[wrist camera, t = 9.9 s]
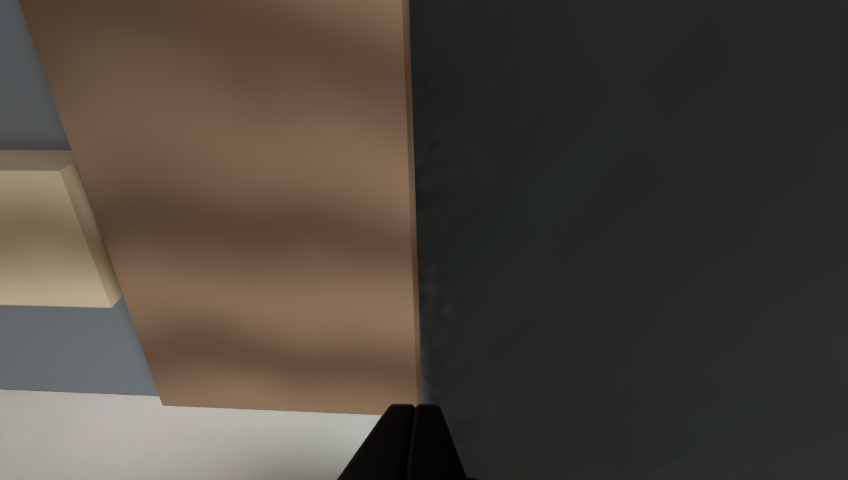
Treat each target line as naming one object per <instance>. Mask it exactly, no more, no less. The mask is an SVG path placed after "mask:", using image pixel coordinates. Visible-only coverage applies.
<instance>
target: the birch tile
mask: <svg viewBox="0 0 848 480" xmlns="http://www.w3.org/2000/svg"><path fill="white" fill-rule="evenodd" d="M122 296H123V293H122V290H121V287H120V285H119V282H118V279H117V276H116V273H115V271H114V268H113V265H112V262H111V259H110V257H109V254H108V251H107V248H106V245H105V243H104V240H103V237H102V234H101V231H100V229H99V226H98V223H97V220H96V217H95V215H94V212H93V209H92V206H91V203H90V201H89V198H88V195H87V192H86V190H85V187H84V184H83V181H82V178H81V176H80V173H79V170H78V167H77V164H76V162H75V159H74V156H73V153H72V150H0V305H27V306H63V307H99V308H112V307H113V306H114V305H115V303H116V302H117V301H118V300H119V299H120V298H121V297H122Z"/></svg>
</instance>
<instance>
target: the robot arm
mask: <svg viewBox="0 0 848 480" xmlns="http://www.w3.org/2000/svg"><path fill="white" fill-rule="evenodd" d="M337 480H467V477H466V474H465V472H464V469H463V466H462V464H461V461H460V458H459V456H458V453H457V450H456V448H455V445H454V442H453V440H452V437H451V434H450V432H449V429H448V426H447V424H446V421H445V418H444V416H443V413H442V410H441V408H440V407H439V406H438V405H432V404H418V405H417V406H416V407H414V405H412V404H391V405H390V406H389V407H388V408H387V410H386V411H385V412H384V414H383V415H382V417H381V418H380V420H379V421H378V422H377V424H376V425H375V427H374V428H373V429H372V431H371V432H370V434H369V435H368V437H367V438H366V439H365V441H364V442H363V444H362V445H361V447H360V448H359V449H358V451H357V452H356V454H355V455H354V456H353V458H352V459H351V461H350V462H349V464H348V465H347V466H346V468H345V469H344V471H343V472H342V473H341V475H340V476H339V478H338V479H337Z"/></svg>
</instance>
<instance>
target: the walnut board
mask: <svg viewBox="0 0 848 480" xmlns="http://www.w3.org/2000/svg"><path fill="white" fill-rule="evenodd" d="M18 2H19V5H20V8H21V11H22V13H23V16H24V19H25V22H26V24H27V27H28V30H29V33H30V36H31V38H32V41H33V44H34V47H35V50H36V52H37V55H38V58H39V61H40V64H41V66H42V69H43V72H44V75H45V78H46V80H47V83H48V86H49V89H50V92H51V94H52V97H53V100H54V103H55V106H56V108H57V111H58V114H59V117H60V120H61V122H62V125H63V128H64V131H65V134H66V136H67V139H68V142H69V145H70V148H71V150H72V153H73V156H74V159H75V162H76V164H77V167H78V170H79V173H80V176H81V178H82V181H83V184H84V187H85V190H86V192H87V195H88V198H89V201H90V203H91V206H92V209H93V212H94V215H95V217H96V220H97V223H98V226H99V229H100V231H101V234H102V237H103V240H104V243H105V245H106V248H107V251H108V254H109V257H110V259H111V262H112V265H113V268H114V271H115V273H116V276H117V279H118V282H119V285H120V287H121V290H122V293H123V296H124V299H125V301H126V304H127V307H128V310H129V313H130V315H131V318H132V321H133V324H134V327H135V329H136V332H137V335H138V338H139V341H140V343H141V346H142V349H143V352H144V355H145V357H146V360H147V363H148V366H149V369H150V371H151V374H152V377H153V380H154V383H155V385H156V388H157V391H158V394H159V396H160V399H161V402H162V405H165V406H187V407H210V408H233V409H255V410H278V411H301V412H323V413H346V414H369V415H383V414H384V412H385V411H386V410H387V408H388V407H389V406H390V405H391V404H412V405H414V407H416V406H417V405H418V404H419V401H420V392H421V360H420V329H419V297H418V266H417V235H416V204H415V172H414V141H413V110H412V79H411V48H410V16H409V0H18Z"/></svg>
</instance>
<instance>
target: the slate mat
mask: <svg viewBox="0 0 848 480" xmlns="http://www.w3.org/2000/svg"><path fill="white" fill-rule="evenodd" d="M0 150H71V148H70V145H69V142H68V139H67V136H66V134H65V131H64V128H63V125H62V122H61V120H60V117H59V114H58V111H57V108H56V106H55V103H54V100H53V97H52V94H51V92H50V89H49V86H48V83H47V80H46V78H45V75H44V72H43V69H42V66H41V64H40V61H39V58H38V55H37V52H36V50H35V47H34V44H33V41H32V38H31V36H30V33H29V30H28V27H27V24H26V22H25V19H24V16H23V13H22V11H21V8H20V5H19V2H18V0H0ZM0 389H6V390H29V391H52V392H76V393H99V394H122V395H146V396H159V394H158V391H157V388H156V385H155V383H154V380H153V377H152V374H151V371H150V369H149V366H148V363H147V360H146V357H145V355H144V352H143V349H142V346H141V343H140V341H139V338H138V335H137V332H136V329H135V327H134V324H133V321H132V318H131V315H130V313H129V310H128V307H127V304H126V301H125V299H124V296H122V297H121V298H120V299H119V300H118V301H117V302H116V303H115V305H114V306H113V307H112V308H99V307H63V306H27V305H0Z"/></svg>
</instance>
